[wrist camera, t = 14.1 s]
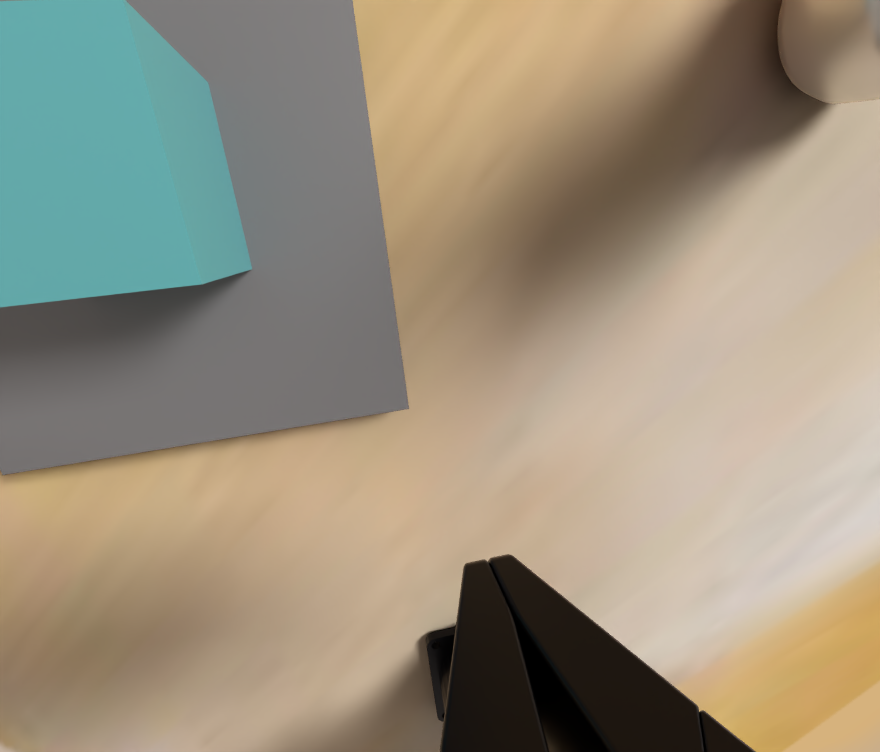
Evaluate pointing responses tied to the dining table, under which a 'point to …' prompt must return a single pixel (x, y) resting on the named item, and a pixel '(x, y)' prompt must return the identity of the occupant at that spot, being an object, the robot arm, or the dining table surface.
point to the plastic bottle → (831, 48)
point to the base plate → (241, 295)
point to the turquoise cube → (106, 158)
